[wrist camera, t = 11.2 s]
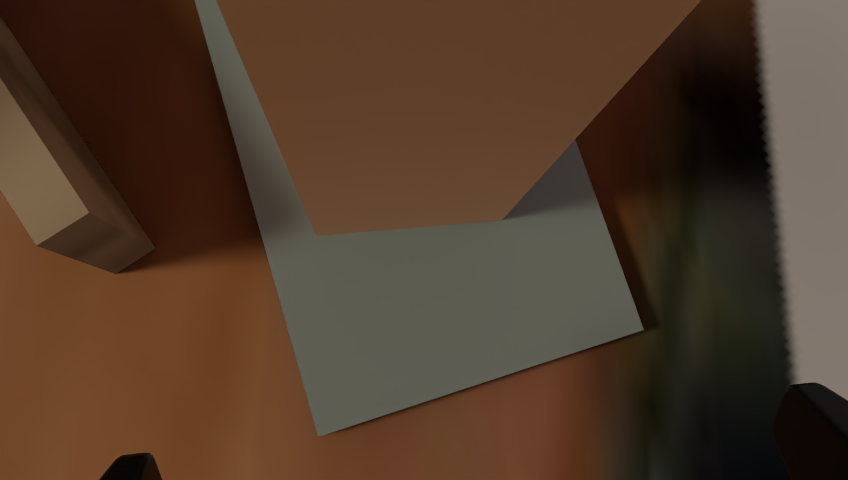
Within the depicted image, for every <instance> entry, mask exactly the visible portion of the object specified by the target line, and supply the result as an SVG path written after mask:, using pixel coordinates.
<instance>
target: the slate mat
mask: <svg viewBox="0 0 848 480" xmlns="http://www.w3.org/2000/svg"><path fill="white" fill-rule="evenodd" d="M195 3H196V7H197V10H198V14H199V17H200V21H201V24H202V28H203V31H204V35H205V39H206V42H207V46H208V49H209V53H210V56H211V60H212V63H213V67H214V70H215V74H216V77H217V81H218V84H219V88H220V92H221V95H222V99H223V102H224V106H225V109H226V113H227V116H228V120H229V123H230V127H231V130H232V134H233V137H234V141H235V145H236V148H237V152H238V155H239V159H240V162H241V166H242V169H243V173H244V176H245V180H246V183H247V187H248V190H249V194H250V198H251V201H252V205H253V208H254V212H255V215H256V219H257V222H258V226H259V229H260V233H261V236H262V240H263V243H264V247H265V251H266V254H267V258H268V261H269V265H270V268H271V272H272V275H273V279H274V282H275V286H276V289H277V293H278V296H279V300H280V303H281V307H282V311H283V314H284V318H285V321H286V325H287V328H288V332H289V335H290V339H291V342H292V346H293V349H294V353H295V356H296V360H297V364H298V367H299V371H300V374H301V378H302V381H303V385H304V388H305V392H306V395H307V399H308V402H309V406H310V409H311V413H312V417H313V420H314V424H315V427H316V431H317V434H318V437H319V436H322V435H325V434H329V433H332V432H335V431H338V430H341V429H344V428H347V427H350V426H353V425H356V424H359V423H362V422H365V421H368V420H371V419H374V418H377V417H380V416H383V415H386V414H389V413H392V412H395V411H399V410H402V409H405V408H408V407H411V406H414V405H417V404H420V403H423V402H426V401H429V400H432V399H435V398H438V397H441V396H444V395H447V394H450V393H453V392H456V391H459V390H462V389H466V388H469V387H472V386H475V385H478V384H481V383H484V382H487V381H490V380H493V379H496V378H499V377H502V376H505V375H508V374H511V373H514V372H517V371H520V370H523V369H526V368H529V367H532V366H536V365H539V364H542V363H545V362H548V361H551V360H554V359H557V358H560V357H563V356H566V355H569V354H572V353H575V352H578V351H581V350H584V349H587V348H590V347H593V346H596V345H599V344H602V343H606V342H609V341H612V340H615V339H618V338H621V337H624V336H627V335H630V334H633V333H636V332H639V331H642V330H644V329H643V326H642V323H641V320H640V318H639V315H638V312H637V309H636V306H635V304H634V301H633V298H632V295H631V293H630V290H629V287H628V284H627V281H626V279H625V276H624V273H623V270H622V268H621V265H620V262H619V259H618V256H617V254H616V251H615V248H614V245H613V243H612V240H611V237H610V234H609V231H608V229H607V226H606V223H605V220H604V218H603V215H602V212H601V209H600V206H599V204H598V201H597V198H596V195H595V193H594V190H593V187H592V184H591V181H590V179H589V176H588V173H587V170H586V167H585V165H584V162H583V159H582V156H581V154H580V151H579V148H578V145H577V142H576V140H574V141H573V142H572V143H571V144H570V145H569V147H568V148H567V149H566V150H565V151H564V152H563V153H562V154H561V155H560V157H559V158H558V159H557V160H556V161H555V162H554V163H553V164H552V165H551V166H550V168H549V169H548V170H547V171H546V172H545V173H544V174H543V175H542V176H541V178H540V179H539V180H538V181H537V182H536V183H535V184H534V185H533V186H532V187H531V189H530V190H529V191H528V192H527V193H526V194H525V195H524V196H523V197H522V199H521V200H520V201H519V202H518V203H517V204H516V205H515V206H514V207H513V208H512V210H511V211H510V212H509V213H508V214H507V215H506V216H505V217H504V218H503V219H502V220H498V221H486V222H474V223H463V224H451V225H439V226H427V227H415V228H404V229H392V230H380V231H368V232H357V233H345V234H333V235H321V236H316V234H315V231H314V229H313V227H312V224H311V222H310V219H309V217H308V215H307V212H306V210H305V208H304V205H303V203H302V201H301V198H300V196H299V194H298V191H297V189H296V187H295V184H294V182H293V180H292V177H291V175H290V173H289V170H288V168H287V165H286V163H285V161H284V158H283V156H282V154H281V151H280V149H279V147H278V144H277V142H276V140H275V137H274V135H273V133H272V130H271V128H270V126H269V123H268V121H267V119H266V116H265V114H264V112H263V109H262V107H261V104H260V102H259V100H258V97H257V95H256V93H255V90H254V88H253V86H252V83H251V81H250V79H249V76H248V74H247V72H246V69H245V67H244V65H243V62H242V60H241V58H240V55H239V53H238V50H237V48H236V46H235V43H234V41H233V39H232V36H231V34H230V32H229V29H228V27H227V25H226V22H225V20H224V18H223V15H222V13H221V11H220V8H219V6H218V4H217V1H216V0H195Z"/></svg>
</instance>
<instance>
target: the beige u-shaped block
mask: <svg viewBox="0 0 848 480" xmlns="http://www.w3.org/2000/svg"><path fill="white" fill-rule="evenodd" d="M0 190H1V192H2V193H3V195H4V196H5V198H6V199H7V201H8V202H9V204H10V205H11V207H12V208H13V210H14V212H15V213H16V215H17V216H18V218H19V219H20V221H21V222H22V224H23V225H24V227H25V229H26V230H27V232H28V233H29V235H30V236H31V238H32V239H33V241H34V242H35V244H36V246H39V247H42V248H45V249H47V250H50V251H53V252H56V253H59V254H62V255H64V256H67V257H70V258H73V259H76V260H78V261H81V262H84V263H87V264H90V265H92V266H95V267H98V268H101V269H104V270H107V271H109V272H112V273H115V274H117V273H118V272H120V271H121V270H123V269H124V268H126V267H128V266H129V265H131V264H132V263H134V262H135V261H137V260H138V259H140V258H142V257H143V256H145V255H146V254H148V253H149V252H151V251H152V250H154V249H155V247H154V245H153V244H152V242H151V241H150V239H149V238H148V236H147V235H146V233H145V232H144V230H143V229H142V227H141V226H140V224H139V223H138V221H137V220H136V218H135V217H134V215H133V214H132V212H131V211H130V209H129V208H128V206H127V205H126V203H125V202H124V200H123V199H122V197H121V196H120V194H119V193H118V191H117V190H116V188H115V187H114V185H113V184H112V182H111V181H110V179H109V178H108V176H107V175H106V173H105V172H104V170H103V169H102V167H101V166H100V164H99V163H98V161H97V160H96V158H95V157H94V155H93V154H92V152H91V151H90V149H89V148H88V146H87V145H86V143H85V142H84V140H83V139H82V137H81V136H80V134H79V133H78V131H77V130H76V128H75V127H74V125H73V124H72V122H71V121H70V119H69V118H68V116H67V115H66V113H65V112H64V110H63V109H62V107H61V106H60V104H59V103H58V102H57V100H56V99H55V97H54V96H53V94H52V93H51V91H50V90H49V88H48V87H47V85H46V84H45V82H44V81H43V79H42V78H41V76H40V75H39V73H38V72H37V70H36V69H35V67H34V66H33V64H32V63H31V61H30V60H29V58H28V57H27V55H26V54H25V52H24V51H23V49H22V48H21V46H20V45H19V43H18V42H17V40H16V39H15V37H14V36H13V34H12V33H11V31H10V30H9V28H8V27H7V25H6V24H5V22H4V21H3V19H2V18H1V16H0Z"/></svg>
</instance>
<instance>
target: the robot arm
mask: <svg viewBox="0 0 848 480" xmlns="http://www.w3.org/2000/svg"><path fill="white" fill-rule="evenodd" d="M772 430H773V436H774V439H775V442H776V444H777V447H778V449H779V451H780V454H781V456H782V459H783V461H784V463H785V466H786V468H787V471H788V473H789V475H790V478H791V480H848V401H847V400H846V399H844V398H843V397H841V396H839V395H838V394H836V393H835V392H833V391H831V390H830V389H828V388H826V387H825V386H823V385H821V384H818V383H803V384H794V385H790V386H789V387H788V388H787V389H786V390H785V392H784V394H783V397H782V400H781V402H780V405H779V407H778V410H777V412H776V415H775V417H774V420H773V425H772ZM99 480H162V478H161V475H160V472H159V470H158V467H157V464H156V461H155V459H154V457H153V456H152V455H151V454H150V453H137V454H128V455H122V456H120V457H119V458H117V459H116V460H115V461H114V462H113V463H112V465H111V466H110V467H109V468H108V470H107V471H106V472H105V473H104V474H103V476H102V477H101V478H100V479H99Z"/></svg>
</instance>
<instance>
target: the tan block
mask: <svg viewBox="0 0 848 480" xmlns="http://www.w3.org/2000/svg"><path fill="white" fill-rule="evenodd" d="M216 1H217V4H218V6H219V8H220V11H221V13H222V15H223V18H224V20H225V22H226V25H227V27H228V29H229V32H230V34H231V36H232V39H233V41H234V43H235V46H236V48H237V50H238V53H239V55H240V58H241V60H242V62H243V65H244V67H245V69H246V72H247V74H248V76H249V79H250V81H251V83H252V86H253V88H254V90H255V93H256V95H257V97H258V100H259V102H260V104H261V107H262V109H263V112H264V114H265V116H266V119H267V121H268V123H269V126H270V128H271V130H272V133H273V135H274V137H275V140H276V142H277V144H278V147H279V149H280V151H281V154H282V156H283V158H284V161H285V163H286V165H287V168H288V170H289V173H290V175H291V177H292V180H293V182H294V184H295V187H296V189H297V191H298V194H299V196H300V198H301V201H302V203H303V205H304V208H305V210H306V212H307V215H308V217H309V219H310V222H311V224H312V227H313V229H314V231H315V234H316V236H321V235H333V234H345V233H357V232H368V231H380V230H392V229H404V228H415V227H427V226H439V225H451V224H463V223H474V222H486V221H498V220H502V219H503V218H504V217H505V216H506V215H507V214H508V213H509V212H510V211H511V210H512V208H513V207H514V206H515V205H516V204H517V203H518V202H519V201H520V200H521V199H522V197H523V196H524V195H525V194H526V193H527V192H528V191H529V190H530V189H531V187H532V186H533V185H534V184H535V183H536V182H537V181H538V180H539V179H540V178H541V176H542V175H543V174H544V173H545V172H546V171H547V170H548V169H549V168H550V166H551V165H552V164H553V163H554V162H555V161H556V160H557V159H558V158H559V157H560V155H561V154H562V153H563V152H564V151H565V150H566V149H567V148H568V147H569V145H570V144H571V143H572V142H573V141H574V140H575V139H576V138H577V137H578V136H579V134H580V133H581V132H582V131H583V130H584V129H585V128H586V127H587V126H588V125H589V123H590V122H591V121H592V120H593V119H594V118H595V117H596V116H597V115H598V113H599V112H600V111H601V110H602V109H603V108H604V107H605V106H606V105H607V104H608V102H609V101H610V100H611V99H612V98H613V97H614V96H615V95H616V94H617V92H618V91H619V90H620V89H621V88H622V87H623V86H624V85H625V84H626V83H627V81H628V80H629V79H630V78H631V77H632V76H633V75H634V74H635V73H636V72H637V70H638V69H639V68H640V67H641V66H642V65H643V64H644V63H645V62H646V60H647V59H648V58H649V57H650V56H651V55H652V54H653V53H654V52H655V51H656V49H657V48H658V47H659V46H660V45H661V44H662V43H663V42H664V41H665V39H666V38H667V37H668V36H669V35H670V34H671V33H672V32H673V31H674V30H675V28H676V27H677V26H678V25H679V24H680V23H681V22H682V21H683V20H684V19H685V17H686V16H687V15H688V14H689V13H690V12H691V11H692V10H693V9H694V7H695V6H696V5H697V4H698V3H699V2H700V1H701V0H216Z"/></svg>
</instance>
